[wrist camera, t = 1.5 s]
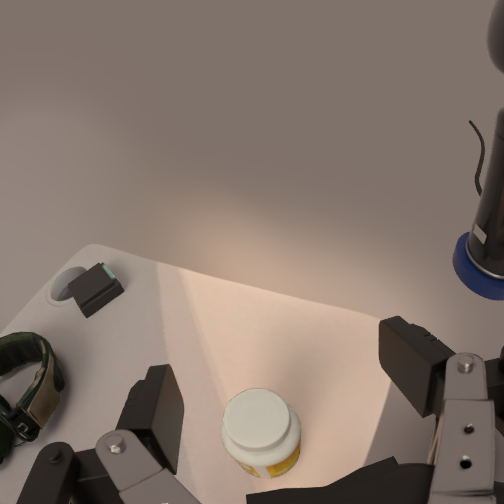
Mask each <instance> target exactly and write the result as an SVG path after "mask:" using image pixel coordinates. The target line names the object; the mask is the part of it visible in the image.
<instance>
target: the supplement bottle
mask: <svg viewBox="0 0 504 504" xmlns="http://www.w3.org/2000/svg"><path fill="white" fill-rule="evenodd" d="M221 436H222V441H223V444H224V446H225V448H226V450H227V451H228V453H229V454H230V455H231V456H232V457H233V458H234V459H235V460H236V461H237V462H238V464H239V465H240V466H241V467H242V468H243V469H245V470H246V471H247V472H248V473H250V474H252V475H254V476H257V477H260V478H273V477H278V476H280V475H282V474H284V473H286V472H287V471H289V470H290V469H291V468H292V467H293V466H294V465H295V463H296V462H297V460H298V458H299V454H300V442H301V425H300V421H299V418H298V416H297V414H296V412H295V411H294V409H293V408H292V407H291V406H290V405H289V404H288V403H286V402H285V401H284V400H283V399H282V398H281V397H280V396H279V395H278V394H276V393H275V392H273V391H270V390H267V389H261V388H255V389H249V390H245V391H243V392H241V393H239V394H237V395H236V396H235V397H233V398H232V399H231V400H230V402H229V403H228V404H227V406H226V408H225V411H224V415H223V423H222V428H221Z"/></svg>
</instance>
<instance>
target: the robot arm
mask: <svg viewBox="0 0 504 504" xmlns="http://www.w3.org/2000/svg"><path fill="white" fill-rule="evenodd" d="M486 41H487V42H486V43H487V50H488V54H489V57H490V59H491V61H492V63H493V64H494V66H495V67H496V68H497V69H498V70H499V71H500V72H501V73H503V74H504V0H496V1H495V3H494V5H493V8H492V11H491V14H490V17H489V21H488V26H487V35H486ZM469 123H470V124H471V125H472V127H473V128H474V129H475V131H476V132H477V134H478V136H479V138H480V141H481V147H482V148H481V156H480V160H479V164H478V168H477V171H476V174H475V185H476V188H477V191H478V193H479V195H480V200H479V204H478V208H477V211H476V215H475V218H474V221H473V224H472V227H471V231H470V234H469V237H468V238H467V241H466V244H465V254H466V257H467V259H468V261H469V262H470V264H471V265H472V266H473V267H474V268H475V269H476V270H477V271H478V272H480V273H481V274H482V275H484V276H486V277H488V278H490V279H493V280H496V281H502V282H504V107H502V108H500V109H499V111H498V112H497V116H496V122H495V130H494V135H493V141H492V147H491V153H490V158H489V163H488V167H487V172H486V177H485V181H484V185H483V189H481V187H480V183H479V176H480V173H481V168H482V164H483V160H484V154H485V146H484V141H483V138H482V136H481V134H480V132H479V131H478V129H477V128H476V126H475V125H474V124H473V123H472V121H469ZM379 361H380V364H381V367H382V368H383V370H384V371H385V372H386V374H387V375H388V376H389V377H390V378H391V380H392V381H393V382H394V383H395V385H396V386H397V387H398V388H399V389H400V391H401V392H402V393H403V394H404V396H405V397H406V398H407V399H408V401H409V402H410V403H411V404H412V406H413V407H414V408H415V409H416V411H417V412H418V413H419V414H420V415H421V417H422V418H424V417H426V416H429V415H431V414H433V413H434V414H435V415H436V419H435V423H434V430H433V435H432V440H431V445H430V451H429V455H428V459H427V463H426V464H424V463H406V464H398V463H397V461H396V459H395V458H394V456H392V457H390V458H387V459H385V460H382V461H379V462H377V463H374V464H371V465H368V466H365V467H362V468H360V469H358V470H356V471H354V472H352V473H351V474H349V475H347V476H345V477H343V478H341V479H339V480H338V481H336V482H334V483H332V484H330V485H327V486H324V487H313V488H283V489H278V490H272V491H267V492H261V493H254V494H247V495H246V501H247V504H504V483H500V482H496V481H494V471H495V427H496V429H497V430H498V431H499V432H500V433H501V434H502V435H503V437H504V346H503V348H502V350H501V355H500V358H496V359H492V360H488V361H483V359H482V358H481V357H479V356H477V355H476V354H472V353H459V354H456V353H455V352H454V351H452V350H451V349H450V348H449V347H447V346H446V345H445V344H443V343H442V342H441V341H440V340H437V338H436V337H435V336H433V335H431V334H430V332H428V331H427V330H426V329H425V328H423V327H420V326H417V325H415V324H409V323H407V322H406V321H405V320H404V319H402V318H401V317H400V316H394V317H391V318H388V319H385V320H381V321H380V323H379ZM127 398H128V399H127V400H126V403H125V407H124V408H123V410H122V413H121V416H120V418H119V421H118V424H117V426H116V429H115V430H113V431H110V432H108V433H106V434H104V435H103V436H102V437H101V438H100V439H99V440H98V441H97V443H96V447H95V448H94V449H90V450H85V451H80V452H74V450H73V449H72V447H71V446H70V445H69V444H67V443H65V442H54V443H51V444H49V445H47V446H45V447H44V448H43V449H42V450H41V451H40V452H39V454H38V456H37V458H36V460H35V462H34V464H33V467H32V469H31V471H30V473H29V475H28V478H27V480H26V482H25V484H24V487H23V489H22V491H21V494H20V496H19V499H18V501H17V503H16V504H69V501H70V504H201V503H200V502H199V501H198V500H197V499H196V498H195V497H194V496H193V495H192V494H191V493H190V492H189V491H188V490H187V489H186V488H185V487H184V486H183V485H182V484H181V483H180V482H179V481H178V480H177V479H176V478H175V477H174V476H173V475H176V473H177V464H178V456H179V448H180V439H181V432H182V424H183V416H184V403H183V398H182V395H181V392H180V390H179V387H178V384H177V381H176V378H175V376H174V373H173V370H172V367H171V366H170V365H169V364H165V365H157V366H150V367H149V369H148V372H147V375H146V378H145V380H139V381H138V382H137V383H136V384H135V385H134V386H133V387H132V388H131V390H130V392H129V395H128V397H127Z"/></svg>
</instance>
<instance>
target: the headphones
mask: <svg viewBox="0 0 504 504" xmlns="http://www.w3.org/2000/svg"><path fill="white" fill-rule="evenodd" d="M35 361H43V362H42V366H41V368H40V370H39V371H38V372H36V375H35V379H34V382H33V383H32V385H31V386H30V387H29V388H28V390H27V391H26V393H25V394H24V395H23V397H22V398H21V399H20V401H19V402H18V403H17V404H16V406H17V407H16V408H15V409H13V410H11V408H10V406H9V404H8V402H7V401H6V400H5V398H4V397H2V396H1V395H0V464H2V463H3V459H4V456H3V455H6V454H7V453H8V452H9V446H10V442H11V438H12V435H13V433H14V434H15V435H16V436H17V437H18V438H19V439H21V440H22V441H24V442H22V443H21V444H19V445H16V446H21V445H24V444H26V443H27V442H32V441H34V440H35V439H36V438H37V437H38V434H39V431H40V429H43V427H44V426H45V424H46V423H47V421H48V420H49V418H50V417H51V415H52V414H53V412H54V411H55V410H56V408H57V406H58V404H59V401H60V395H61V391H62V390H63V389H64V387H65V381H64V376H63V372H62V369H61V365H60V363H59V361H58V359H57V357H56V356H55V354H54V352H53V350H52V348H51V345H50V344H49V342H48V341H47V340H46V339H45V338H44V337H42V336H41V335H38V334H36V333H33V332H17V333H12V334H9V335H7V336H4V337H2V338H0V376H3V375H5V374H6V373H8V372H10V371H11V370H12V369H13V368H15V367H17V366H19V365H22V364H26V363H27V362H35ZM14 426H15V428H16V429H17V430H18V431H19V432H21V433H22V434H23V435H24V436H25V437H26V438H24V437H23V436H21V435H20V434H19V433H18V432H17V431H16V430H15V429H14ZM16 446H15V447H16Z"/></svg>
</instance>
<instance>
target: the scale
mask: <svg viewBox="0 0 504 504" xmlns="http://www.w3.org/2000/svg"><path fill="white" fill-rule="evenodd" d="M68 288H69V290H70V291H71V293H72V295H73V297H74V299H75V301H76V303H77V304H78V306H79V308H80V310H81V311H82V313H83V314H84V316H85V317H86V318H88V317H89V316H90V315H92V314H93V313H95V312H96V311H97V310H99V309H100V308H101V307H103V306H104V305H106V304H107V303H108V302H110V301H111V300H113V299H114V298H115V297H117V296H118V295H120V294H121V293H122V292H124V289H123V288H122V286H121V284H120V283H119V281H118V280H117V279H116V277H115V276H114V275H113V273H112V272H111V271H110V270H109V269H108V267H107V266H106V265H105V264H104V263H101V264H100V263H98V264H96V265H95V266H93V267H92V268H90V269H89V270H87V271H86V272H85V273H83V274H82V275H80V276H79V277H77V278H76V279H75V280H73V281H72V282H70V283H69V284H68Z"/></svg>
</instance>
